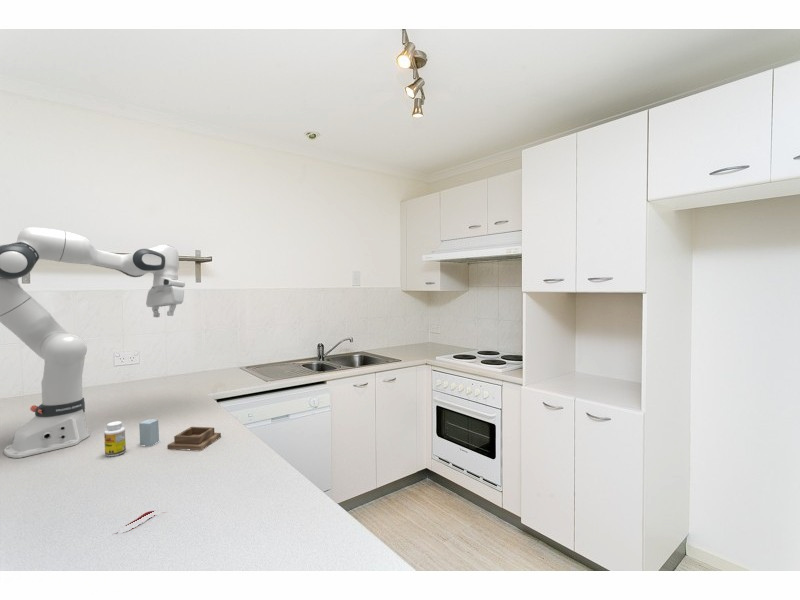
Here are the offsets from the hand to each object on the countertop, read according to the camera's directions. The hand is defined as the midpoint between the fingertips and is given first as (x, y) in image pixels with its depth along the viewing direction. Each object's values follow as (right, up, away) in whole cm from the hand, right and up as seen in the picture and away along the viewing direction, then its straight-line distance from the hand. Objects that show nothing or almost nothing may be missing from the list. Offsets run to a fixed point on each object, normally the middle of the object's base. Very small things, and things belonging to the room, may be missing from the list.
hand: (163, 316), depth 162 cm
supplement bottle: (+4, -44, -33) cm, 55 cm away
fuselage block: (+10, -44, -25) cm, 51 cm away
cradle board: (+26, -44, -24) cm, 56 cm away
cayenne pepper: (+37, -46, -70) cm, 92 cm away
